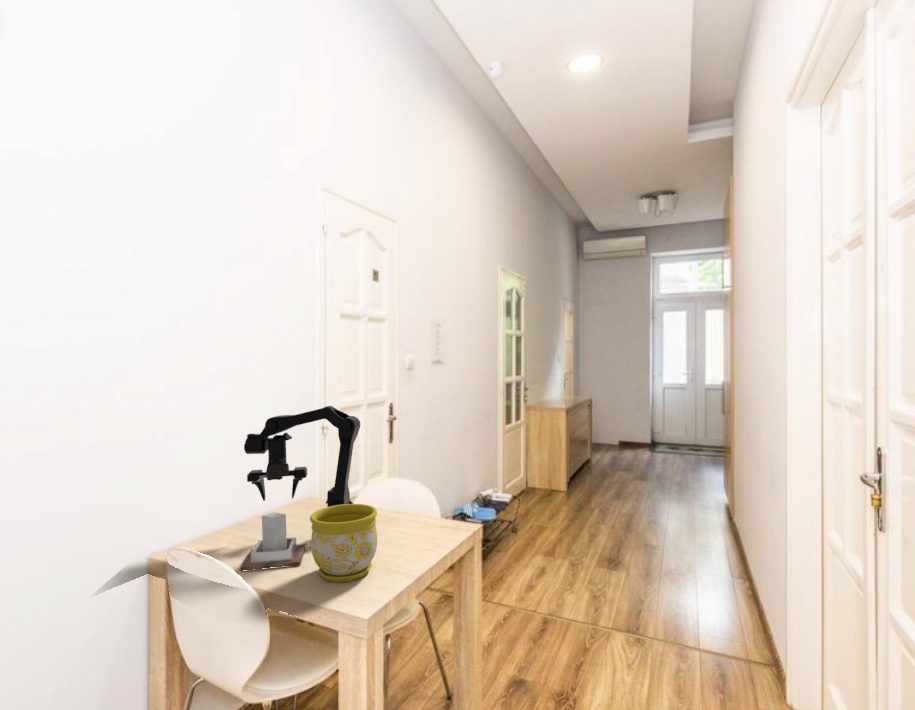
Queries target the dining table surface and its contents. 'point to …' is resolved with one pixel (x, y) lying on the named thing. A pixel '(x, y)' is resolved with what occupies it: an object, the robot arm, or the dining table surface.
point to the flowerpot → (344, 541)
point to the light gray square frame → (273, 553)
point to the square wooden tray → (294, 562)
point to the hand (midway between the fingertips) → (278, 499)
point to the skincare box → (274, 531)
